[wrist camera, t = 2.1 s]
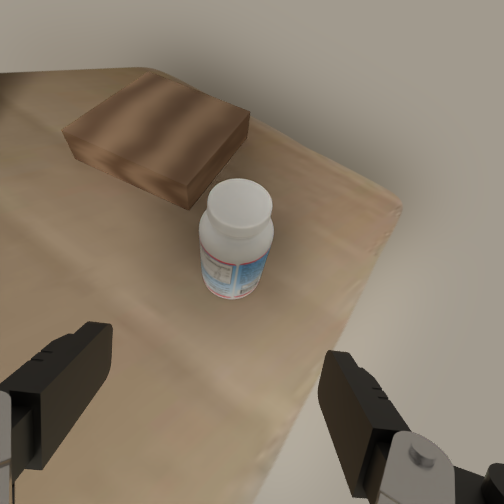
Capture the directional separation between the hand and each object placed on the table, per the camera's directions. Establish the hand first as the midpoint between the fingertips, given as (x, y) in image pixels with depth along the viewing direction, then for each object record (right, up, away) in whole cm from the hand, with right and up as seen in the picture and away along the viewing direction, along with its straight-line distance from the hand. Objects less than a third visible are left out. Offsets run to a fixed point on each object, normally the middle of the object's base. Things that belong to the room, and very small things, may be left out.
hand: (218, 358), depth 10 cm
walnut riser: (-10, +18, +27) cm, 34 cm away
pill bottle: (-1, +2, +19) cm, 19 cm away
